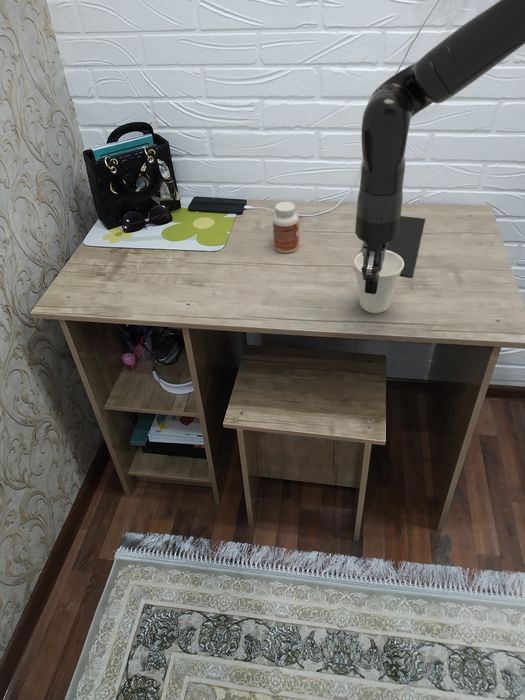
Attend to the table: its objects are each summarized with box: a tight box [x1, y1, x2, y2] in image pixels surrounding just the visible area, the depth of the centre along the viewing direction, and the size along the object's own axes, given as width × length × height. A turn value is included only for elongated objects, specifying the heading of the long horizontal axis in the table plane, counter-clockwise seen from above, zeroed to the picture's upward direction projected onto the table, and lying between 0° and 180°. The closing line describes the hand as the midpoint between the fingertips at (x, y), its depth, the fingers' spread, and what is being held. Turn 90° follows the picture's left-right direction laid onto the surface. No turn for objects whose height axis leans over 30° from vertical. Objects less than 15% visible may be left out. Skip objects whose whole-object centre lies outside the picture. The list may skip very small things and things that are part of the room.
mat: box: [354, 215, 426, 278], centre depth 139 cm, size 26×13×1 cm, turn 162°
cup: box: [353, 250, 404, 314], centre depth 118 cm, size 10×10×11 cm
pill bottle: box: [272, 201, 300, 254], centre depth 137 cm, size 6×6×11 cm
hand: (370, 291), depth 110 cm, fingers closed
